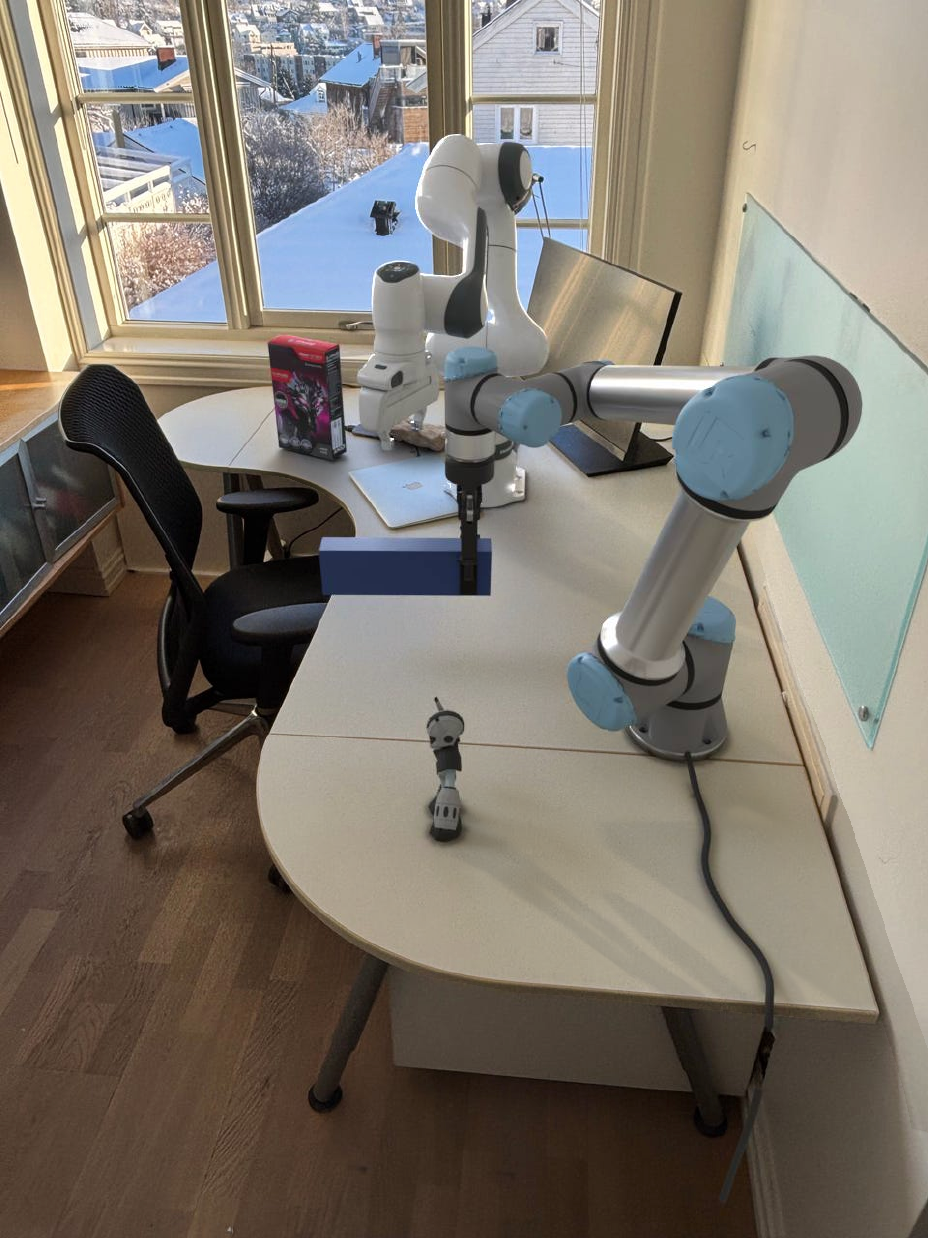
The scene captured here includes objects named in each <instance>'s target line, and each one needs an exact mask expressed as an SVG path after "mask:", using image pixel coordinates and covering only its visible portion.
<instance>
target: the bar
mask: <svg viewBox="0 0 928 1238" xmlns="http://www.w3.org/2000/svg"><path fill="white" fill-rule="evenodd" d="M492 542H493V541H492V538H491V537H480V538H477V557H478V562H477V595H460V562H456V557H461V538H460V537H376V536H375V537H374V536H373V537H371V536H369V537H366V536H365V537H364V536H363V537H362V536H361V537H359V536H358V537H357V536H352V537H351V536H349V537H348V536H347V537H346V536H345V537H344V536H343V537H342V536H322V537H321V540H320V544H319V548H318V559H319V571H320V580H321V581H320V582H321V592H322V593H321V594H322V596H435V597H436V596H438V597H439V596H442V597H443V596H444V597H445V596H446V597H447V596H450V597H451V596H452V597H453V596H455V597H463V596H464V597H466V596H467V597H472V596H473V597H490V596H492V568H493V566H492V565H493V546H492Z"/></svg>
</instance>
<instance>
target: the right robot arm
mask: <svg viewBox="0 0 928 1238" xmlns="http://www.w3.org/2000/svg"><path fill="white" fill-rule="evenodd" d="M497 370H498V363H497V356H496V355H495V354H494V352H493V351H492V350H490V349H487V348H483V347H461V348H457V349H454V350H452V351H451V352H449V353H448V355H447V356H446V360H445V375H444V377H443V379H442V382H443V387H444V388H443V391H444V392H443V393H444V394H443V395H444V399H443V400H444V401H443V402H444V427H445V431H446V432H442V433H441V438H443V439H445V444H444V451H445V454H444V476H445V478H446V479H447V481H448V482H449V481H450V482H451V483H453V484H457V500H456V504H457V512H458V513H457V519H458V520H459V521H460V526H459V530H460V535H459V538H461V557H456V562H460V595H477V562H478V557H477V538H481V534H480V533H478V531H479V530H478V529H479V527H478V526H479V521H480V520H481V508H482V507H481V503H482V485H483V484H486V483H488V482H490V481H491V480H492V479H493V477H494V461H495V457H494V452H495V439H496V433H498V434H500V435H502V436H504V437H506V438H507V439H509V440H510V441H512V442H514V443H516V444H519V445H523V446H526V447H527V448H532V449H535V448H536V449H537V448H541V447H544V446H545V445H547V444H548V443H549V441H550V440H551V439H553V438H555V436H556V435H557V433H558V432H559V430H560V427H562V426H566V425H569V424H573V423H575V422H579V421H582V420H596V421H597V420H598V421H615V422H626V423H627V422H630V423H641V424H642V423H643V424H653V425H666V426H667V425H668V426H674V428H673V431H672V435H671V436H672V437H671V449H673V450H674V451H675V455H676V456H674V457H673V463H674V466H675V471H674V472H675V479H676V483H677V485H678V487H679V488H680V490H679V492H678V495H677V496H676V499H675V501H674V503H673V505H672V507H671V509H670V511H669V513H668V515H667V517H666V519H665V522H664V524H663V526H662V528H661V530H660V532H659V534H658V536H657V538H656V540H655V542H654V544H653V546H652V548H651V550H650V553H649V554H648V557H647V558H646V561H645V563H644V565H643V567H642V569H641V571H640V574H639V576H638V578H637V580H636V581H635V584H634V586H633V588H632V590H631V592H630V594H629V597H628V599H627V600H626V603H625V605H624V606H623V608H622V611H620V612H619V611H618V612H617V613H615V614H613V615H610V617H608V618H607V619H606V620H605V622H604V623H603V624H602V626H601V629H600V630H599V633H598V635H597V638H596V639H595V641H594V643H593V644H592V646H591V647H590V648H589V649H587V650H586V651H581V652H579V653H577V654H576V656H574V657H573V658H572V659H571V660H570V661H569V663H568V665H567V669H566V681H567V685H568V689H569V691H570V693H571V697H572V699H573V700H574V703H575V704H576V706H577V707H578V709H579V710H580V712H581V713H582V714H583V715H584V716H585V717H586V718H587V719H588V721H590V723H592V724H593V725H595V726H596V727H598V728H599V729H601V730H604V731H608V732H619V731H622V730H625V729H626V732H627V734H628V736H629V738H630V739H631V741H632V742H634V744H636V745H637V746H638V747H639V748H640V749H641V750H643V751H645V752H646V753H648V754H650V755H651V756H654V757H656V758H659V759H662V760H666V761H670V762H675V763H686V766H687V771H688V774H689V779H690V784H691V788H692V791H693V792H692V793H693V795H694V799H695V802H696V805H697V807H698V811H699V813H700V816H701V821H702V825H703V826H702V827H703V841H702V846H701V855H700V858H701V859H700V863H701V864H700V865H701V870H702V874H703V878H704V881H705V883H706V886H707V889H708V891H709V893H710V895H711V897H712V899H713V901H714V903H715V904H716V906H717V908H718V909H719V911H720V913H721V914H722V916H723V918H724V919H725V922H727V924H728V925H729V927H730V928H731V929H732V930H733V932H734V933H735V934H736V935H737V936H738V937H739V938H740V940H741V941H742V942H743V943H744V944H745V946H746V947H747V948H748V949H749V950H750V951H751V953H752V954H753V956H754V957H755V959H756V960H757V962H758V964H759V966H760V969H761V971H762V974H763V977H764V984H765V994H764V995H765V996H764V1027H765V1029H766V1030H769V1031H772V1030H773V1029H774V1021H775V1020H774V1016H775V1015H774V1014H775V1013H774V1010H775V982H774V977H773V973H772V971H771V968H770V966H769V963H768V960H767V959H766V957H765V955H764V953H763V952H762V951H761V949H760V947H759V946H758V945H757V944H756V942H754V940H753V939H752V938H751V937H750V936H749V934H748V933H746V931H745V930H744V929H743V928H742V926H740V924H739V923H738V922H737V921H736V919H735V918H734V916H733V915H732V913H731V911H730V910H729V908H728V907H727V905H726V903H725V901H724V900H723V898H722V897H721V894H720V893H719V891H718V889H717V887H716V885H715V883H714V880H713V877H712V874H711V869H710V864H709V863H710V862H709V861H710V859H709V856H710V849H711V842H712V827H711V821H710V817H709V814H708V811H707V808H706V805H705V802H704V800H703V796H702V794H701V791H700V787H699V782H698V778H697V773H696V769H695V766H694V762H700V761H703V760H706V759H709V758H711V757H714V755H716V754H718V752H720V751H721V750H722V748H723V747H724V744H725V743H726V740H727V739H726V738H727V734H728V721H727V716H726V712H725V708H724V707H725V706H724V701H723V692H724V686H725V682H726V678H727V674H728V669H729V664H730V659H731V654H732V651H733V647H734V642H735V641H736V627H737V620H736V617H735V614H734V613H733V611H732V610H731V609H730V608H729V607H728V606H727V605H726V604H725V603H723V602H722V601H720V600H719V599H717V598H714V597H712V596H710V594H711V592H712V590H713V589H714V587H715V585H716V584H717V582H718V580H719V578H720V577H721V575H722V573H723V571H724V569H726V566H727V564H728V563H729V561H730V559H731V557H732V555H733V553H734V552H735V550H736V549H737V547H738V546H739V543H740V541H741V540H742V539H743V536H744V535H745V533H746V531H747V530H748V528H749V526H750V524H751V522H758V521H761V520H764V519H765V518H768V517H769V516H771V514H772V513H773V512H774V511H775V509H776V507H777V506H778V505H779V502H780V501H781V500H782V497H783V496H784V494H785V492H786V490H787V489H788V487H789V485H790V483H792V480H793V479H794V477H795V476H796V475H797V474H798V473H799V472H802V471H803V470H806V469H809V468H811V467H813V466H815V465H817V464H819V463H822V462H824V461H826V460H828V459H831V458H832V457H833V456H835V455H836V454H838V453H839V452H840V451H842V449H844V448H845V447H846V446H847V445H848V444H849V443H850V441H851V440H852V438H854V435H855V434H856V432H857V430H858V428H859V425H860V423H861V419H862V415H863V396H862V392H861V389H860V386H859V384H858V381H857V380H856V378H855V377H854V376H853V374H852V372H851V371H850V370H848V368H847V367H846V366H844V365H843V364H841V363H840V362H839V361H837V360H834V359H832V358H830V357H826V356H822V355H814V354H813V355H802V356H790V357H767V358H764V359H762V360H760V361H759V362H758V363H757V364H756V365H753V366H751V365H749V366H748V365H746V366H745V365H744V366H743V365H741V366H740V365H738V366H737V365H639V364H637V365H635V364H634V365H633V364H631V365H629V364H628V365H627V364H625V365H624V364H615V363H614V362H613V361H612V360H609V359H598V360H589V361H585V362H582V363H580V364H578V365H574V366H571V367H568V368H564V369H561V370H557V371H552V372H549V373H544V374H541V375H538V376H534V377H530V378H527V379H524V380H516V379H513V378H512V377H508V376H504V375H502V374H499V373H497ZM763 1093H764V1090H763V1089H759V1088H754V1090H753V1094H752V1098H751V1102H750V1106H749V1109H748V1113H747V1117H746V1119H745V1123H744V1126H743V1129H742V1131H741V1135H740V1137H739V1140H738V1143H737V1146H736V1149H735V1151H734V1154H733V1156H732V1159H731V1162H730V1165H729V1166H728V1170H727V1173H726V1176H725V1178H724V1182H723V1185H722V1188H721V1191H720V1194H719V1196H718V1200H719V1202H720V1203H721V1204H726V1202H727V1200H728V1196H729V1193H730V1190H731V1187H732V1185H733V1182H734V1179H735V1177H736V1174H737V1171H738V1168H739V1167H740V1166H739V1165H740V1163H741V1161H742V1157H743V1155H744V1153H745V1150H746V1147H747V1145H748V1142H749V1139H750V1136H751V1134H752V1132H753V1128H754V1125H755V1122H756V1118H757V1115H758V1112H759V1108H760V1105H761V1101H762V1098H763Z"/></svg>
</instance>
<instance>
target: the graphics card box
mask: <svg viewBox="0 0 928 1238" xmlns="http://www.w3.org/2000/svg"><path fill="white" fill-rule="evenodd" d="M340 347H341V346H340V343H335V342H333V343H332V342H328V341H322V340H317V339H311V338H306V337H300V336H295V335H289V334H285V333H282V334H279V335H277V336H274V337H273V338H271V339H270V340H268V341H267V351H268V359H269V367H270V369H269V370H270V377H271V378H270V379H271V385H272V386H271V387H272V395H273V403H274V412H275V413H274V414H275V423H276V433H277V441H278V442H277V443H278V448H279V449H283V450H287V451H288V450H289V451H292V452H297V453H301V454H305V455H309V456H314V457H317V458H322V459H326V460H330V461H333V460H335V459H337V458H339V457H340V456H342V455H344V454H345V453H347V451H348V449H347V447H348V446H347V434H346V420H345V407H344V406H345V405H344V393H343V380H342V364H341V363H342V362H341V349H340Z"/></svg>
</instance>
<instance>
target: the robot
mask: <svg viewBox="0 0 928 1238" xmlns="http://www.w3.org/2000/svg"><path fill="white" fill-rule="evenodd" d="M433 701H434V703H435V706H436V708H437V712H434V713H433V714H432V715H430V717H429V718H428V720H427V722H426V724H425V727H426V734H427V735H428V738H429V747H430V749H432V753H433V755H434V757H435V759H436V762H435V769H436V775H437V777H438V778H439V783H440V784H439V785H438V789H437V792H436V795H434V797H433V798H432V799H431V801H430V802H429V804H428V809H429V811H430V814H431V815H432V816H433V821H432V824H431V826H430V829H429V832H428V834H429V835H430V836H431V837H432V838H433V839H434V840H435V841H439V842H449V841H452V840H454V839H457V838H459V837H460V835H461V832H462V831H463V827H462V826H463V825H462V817H461V815H460V812H461V810H462V808H461V797H460V793H459V792H460V791H459V790H458V789H457V787H456V781H457V772H462V770H463V766H462V765H463V761H462V755H461V752H460V747H459V743H460V742H461V737H460V736H461V735H463V733H464V732H465V720H464V717H462V715H461V714H460V713H458V712H457V711H454V710H451V709H445V708H444V707H443V705H442V703H441V702H440V699H439V698H438V697H437V696H435V697H434V698H433Z"/></svg>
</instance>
